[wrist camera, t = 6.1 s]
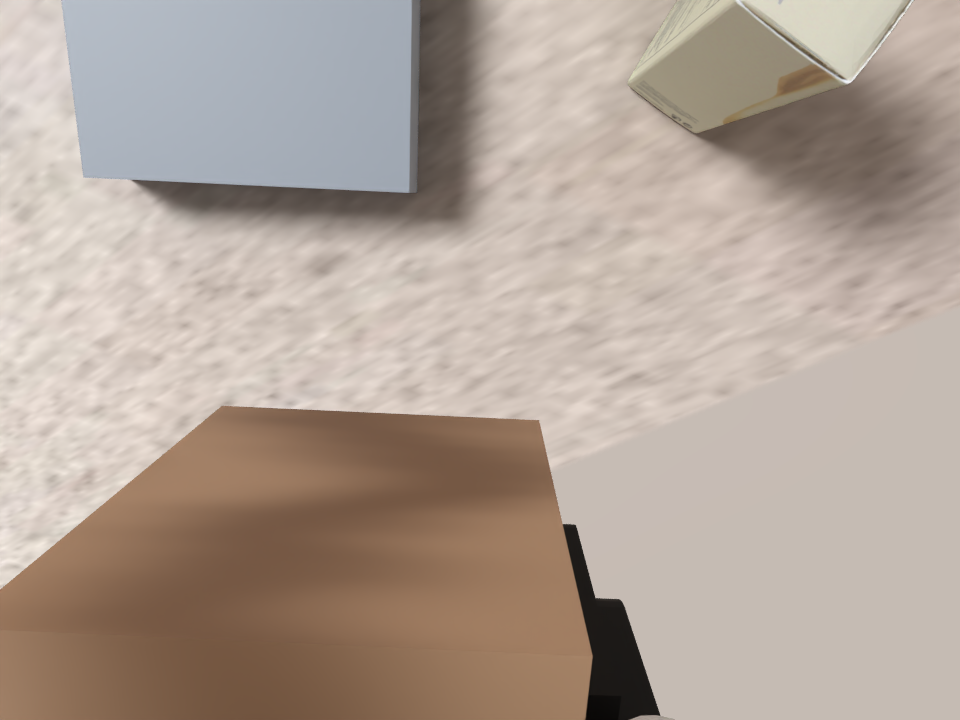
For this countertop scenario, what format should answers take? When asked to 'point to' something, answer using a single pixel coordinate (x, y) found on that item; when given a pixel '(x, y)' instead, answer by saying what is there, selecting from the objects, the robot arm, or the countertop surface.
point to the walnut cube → (310, 580)
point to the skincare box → (757, 54)
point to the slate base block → (248, 91)
